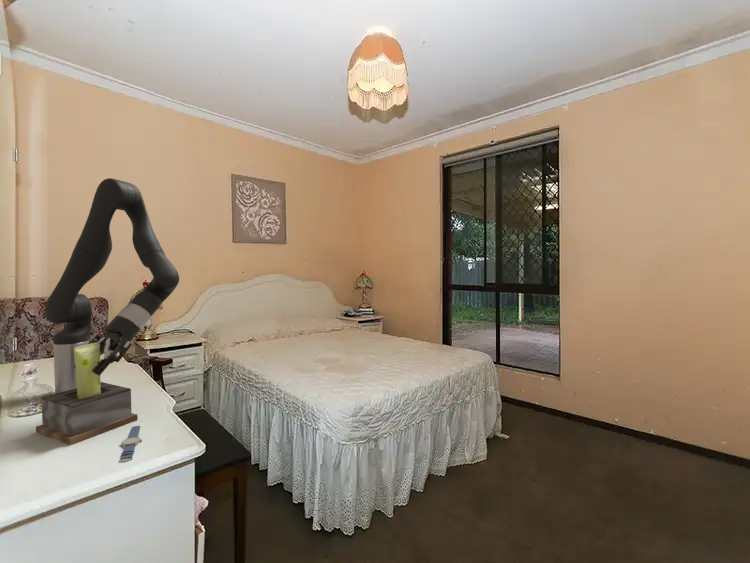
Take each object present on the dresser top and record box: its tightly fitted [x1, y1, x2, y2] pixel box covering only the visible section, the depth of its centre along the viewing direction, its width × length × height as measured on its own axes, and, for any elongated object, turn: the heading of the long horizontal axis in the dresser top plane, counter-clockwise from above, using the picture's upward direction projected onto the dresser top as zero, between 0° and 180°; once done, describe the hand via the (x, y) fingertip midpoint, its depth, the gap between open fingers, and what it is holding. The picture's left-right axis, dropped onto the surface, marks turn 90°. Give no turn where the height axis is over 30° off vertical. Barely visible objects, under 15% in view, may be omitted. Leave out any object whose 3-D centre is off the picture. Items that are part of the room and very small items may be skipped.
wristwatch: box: [118, 425, 143, 463], centre depth 90 cm, size 4×20×1 cm, turn 27°
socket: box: [35, 381, 139, 446], centre depth 99 cm, size 16×16×9 cm
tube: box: [74, 341, 102, 400], centre depth 99 cm, size 6×5×20 cm
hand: (86, 371), depth 99 cm, fingers open, 8 cm apart
